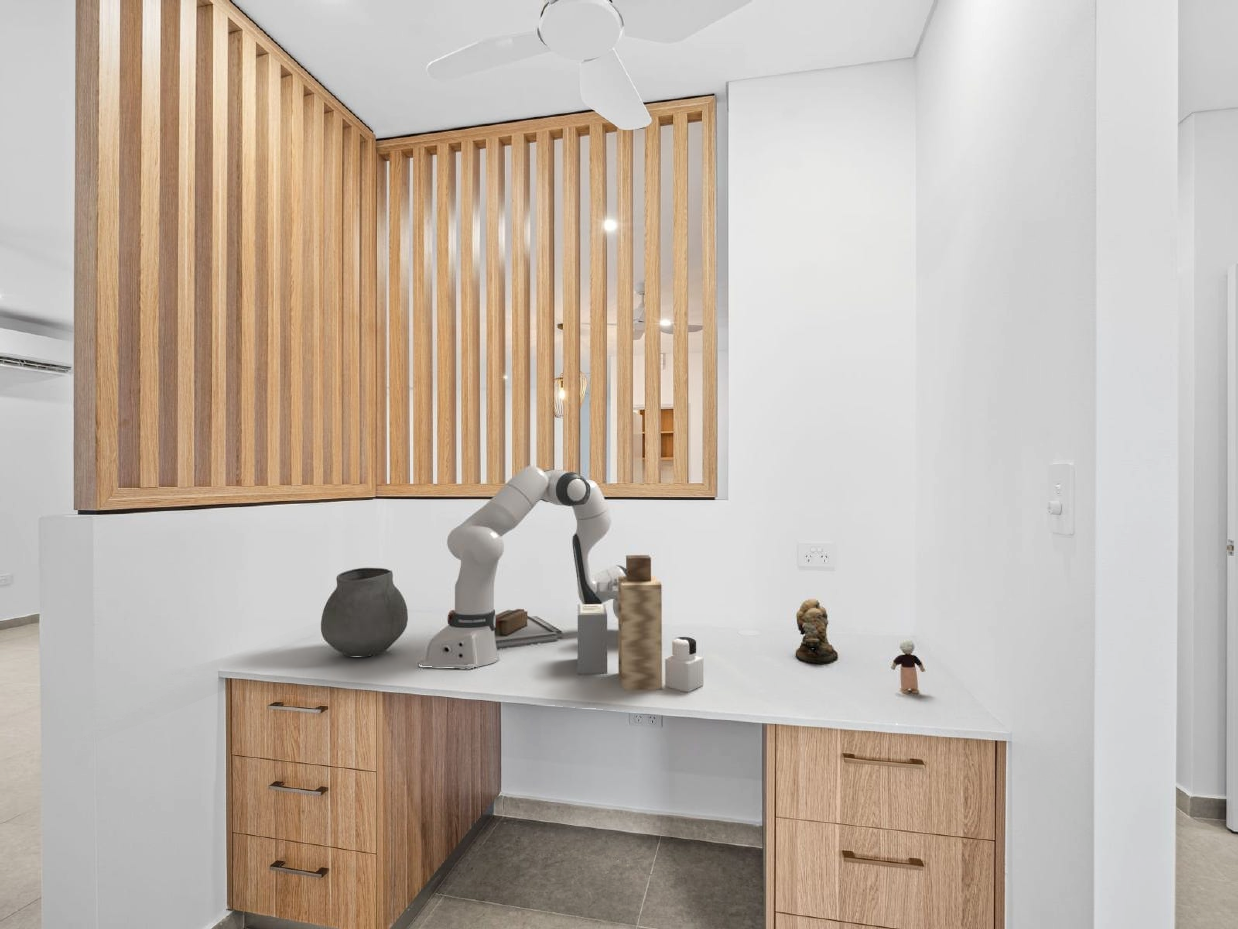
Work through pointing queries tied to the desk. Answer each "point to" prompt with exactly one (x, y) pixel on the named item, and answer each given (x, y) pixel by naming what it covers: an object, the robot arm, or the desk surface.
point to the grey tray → (523, 630)
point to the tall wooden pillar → (640, 634)
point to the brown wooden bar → (638, 568)
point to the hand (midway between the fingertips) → (630, 580)
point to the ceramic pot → (364, 612)
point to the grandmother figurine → (908, 667)
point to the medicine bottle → (684, 666)
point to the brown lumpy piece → (814, 634)
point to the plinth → (592, 638)
